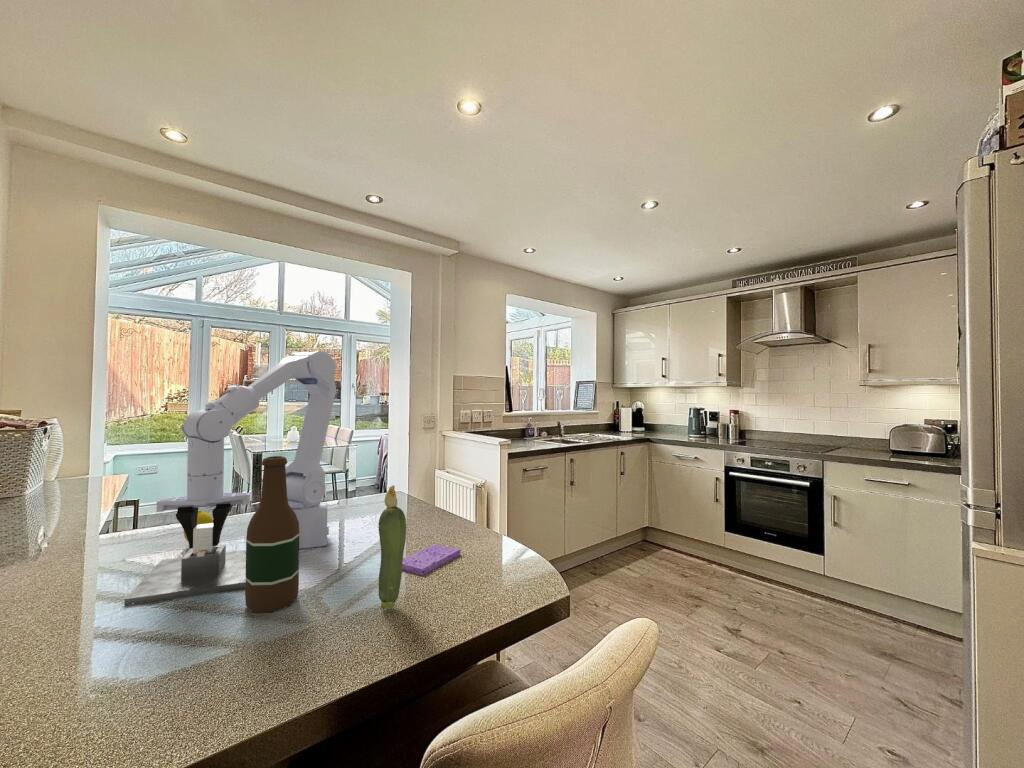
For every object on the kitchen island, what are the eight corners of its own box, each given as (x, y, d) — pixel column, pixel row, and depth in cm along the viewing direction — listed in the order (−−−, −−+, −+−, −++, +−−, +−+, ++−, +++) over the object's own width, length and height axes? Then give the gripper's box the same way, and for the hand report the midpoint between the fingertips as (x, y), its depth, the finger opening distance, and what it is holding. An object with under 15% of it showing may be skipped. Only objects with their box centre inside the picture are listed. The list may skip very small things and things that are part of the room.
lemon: (219, 542, 102) (220, 507, 102) (200, 551, 96) (200, 514, 96) (197, 541, 102) (197, 506, 103) (176, 550, 97) (177, 513, 97)
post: (215, 564, 86) (216, 522, 86) (212, 570, 83) (212, 527, 83) (196, 566, 85) (197, 524, 85) (192, 572, 82) (192, 529, 82)
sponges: (394, 570, 88) (394, 561, 88) (435, 551, 99) (435, 542, 99) (422, 578, 84) (422, 568, 84) (461, 557, 95) (461, 548, 95)
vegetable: (381, 601, 74) (382, 481, 74) (407, 600, 74) (408, 480, 75) (375, 614, 70) (376, 486, 70) (403, 613, 70) (404, 486, 70)
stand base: (264, 552, 96) (264, 528, 96) (251, 586, 79) (252, 558, 79) (161, 564, 89) (162, 539, 89) (124, 605, 72) (125, 573, 72)
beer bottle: (308, 596, 76) (311, 455, 76) (270, 618, 68) (273, 462, 69) (273, 589, 78) (276, 452, 79) (233, 609, 71) (236, 459, 71)
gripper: (150, 480, 78) (149, 558, 77) (246, 474, 83) (245, 547, 83) (164, 473, 84) (163, 545, 84) (252, 468, 90) (251, 535, 90)
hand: (204, 545), depth 84 cm, fingers closed on post, 3 cm apart
